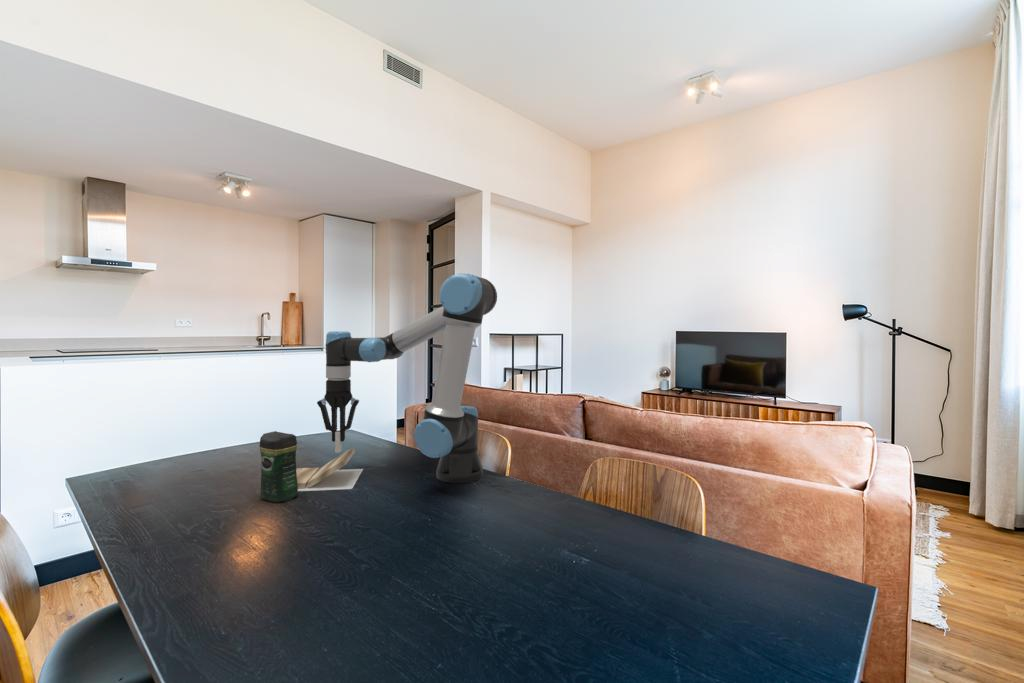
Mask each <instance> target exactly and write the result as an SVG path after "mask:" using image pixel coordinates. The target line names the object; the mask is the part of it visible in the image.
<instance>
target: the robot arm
mask: <svg viewBox="0 0 1024 683" xmlns="http://www.w3.org/2000/svg"><path fill="white" fill-rule="evenodd" d="M439 290H440V291H439V302H440V303H441V305H442V306H440V307H438V308H436V309H434V310H433V311H431V312H429V313H428V314H427V313H426V314H425V315H424V316H422V317H420V318H418V319H416V320H414V321H412V322H409V324H407V325H404V326H403V327H401V328H400V329H399V328H398V330H396V331H394V332H392V333H390V334H388V335H386V336H384V337H381V336H380V337H352V336H351V335H352V334H351V332H350V331H341V330H340V331H336V330H335V331H333V330H332V331H327V333H326V336H325V361H326V362H325V378H326V379H327V380H325V394H324V398H322V399H319V400H318V401H317V402H316V403H317V405H318V407H319V408H320V411H321V412H320V413H321V416H322V419H323V424H324V428H325V430H326V431H330V432H331V441H332V442H333V443H334V451H335V453H341V452H342V450H343V446H342V445H343V444H342V443H343V442H345V440H346V431H348V430H350V429H351V427H352V425H353V420H354V416H355V412H356V409H357V406H358V404H359V402H360V400H359V399H356V398H355V397H353V394H352V389H351V386H352V380H351V379H350V378H351V376H352V374H351V373H352V372H351V370H352V367H351V364H352V363H351V362H362V363H363V362H365V363H366V362H367V363H377V362H378V363H379V362H381V361H385V360H394V359H395V360H396V359H398V358H401V356H403V355H404V353H405V352H407V351H408V350H411V349H413V348H415V347H416V346H419V345H421V344H422V343H424V342H426V341H429V340H431V339H432V338H434V337H436V336H437V335H440V334H442V333H443V340H442V345H441V351H440V355H439V359H438V360H439V361H438V367H437V373H436V376H435V377H436V378H435V383H434V387H433V394H432V398H431V402H430V403H428V404H427V405H426V406H425V407H424V414H423V418H422V420H420V421H419V422H418V424H416V426H415V428H414V432H413V439H414V443H415V445H416V447H417V449H418V450H419V451H420V453H421V454H423V455H424V456H426V457H429V458H433V459H437V458H439V461H438V464H437V467H436V475H435V476H436V479H437V480H439V481H441V482H444V483H451V484H465V483H473V482H475V481H478V480H480V479H482V478H483V475H484V468H483V465H482V462H481V458H480V456H479V452H478V451H479V449H478V446H479V411H478V409H477V408H476V407H475V406H469V405H462V400H463V393H464V390H465V389H464V388H465V384H466V379H467V374H468V370H469V369H468V368H469V363H470V359H471V353H472V347H473V343H474V339H475V338H474V337H475V332H476V329H477V328H478V327H479V326H481V325H482V323H483V319H484V316H485V315H487V314H488V313H490V312H491V311H492V310H493V309H494V308H495V306H496V304H497V301H498V292H497V289H496V287H495V285H494V284H493V283H492V282H491V281H490V280H489V279H487V278H484V277H480V276H476V275H474V274H471V273H456V274H452V275H450V276H449V277H448V278H447V279H445V280H444V282H442V285H441V287H440V289H439ZM349 403H350V405H351V406H350V409H349V412H348V417H347V421H346V406H347V405H348V404H349ZM327 404H328V405H329V406H330V407H331V408H330V410H331V419H330V416H329V413H328V409H327V408H328V407H327ZM338 408H339V430H338Z"/></svg>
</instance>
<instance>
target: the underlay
mask: <svg viewBox="0 0 1024 683" xmlns="http://www.w3.org/2000/svg"><path fill="white" fill-rule="evenodd" d="M363 471H364V468H354V469H353V468H352V469H351V468H350V469H338V470H337V471H335V472H334V473H332V474H330V475H329V476H327V477H326V478H324V479H323V480H321V481H319V482H318V483H316V484H315V485H313V486H311V487H309V486H307V487H306V488H305V489H298V492H310V491H311V492H314V491H316V492H317V491H333V490H334V491H335V490H337V491H338V490H352V489H353V488H354V486H355V484H356V483H357V481H358V479H359V477H360V476H361V474H362V472H363Z"/></svg>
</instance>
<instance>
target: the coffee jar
mask: <svg viewBox="0 0 1024 683" xmlns="http://www.w3.org/2000/svg"><path fill="white" fill-rule="evenodd" d="M297 449H298V441H297V436H296V435H295V434H293V433H285V432H281V431H276V430H275V431H270V432H266V433H263V434H262V436H260V439H259V452H260V459H261V461H260V462H261V465H260V466H261V469H260V470H261V471H260V472H261V473H260V475H261V476H260V498H261V499H262V500H264V501H266V502H271V503H282V502H288V501H291V500H292V499H294V498H296V497H297V496H298V494H299V491H298V484H297V472H296V468H297V460H296V459H297V457H296V456H297V455H296V454H297Z"/></svg>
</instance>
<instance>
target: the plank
mask: <svg viewBox="0 0 1024 683" xmlns="http://www.w3.org/2000/svg"><path fill="white" fill-rule="evenodd" d="M354 453H356V451H355V449H354V447H351V448H350V449H347V450H346V451H344V452H343V453H341V454H340V455H337V457H335V458H333V459H332V460H330V461H328V462H327V463H325V464H324V465H322V466H321V467H319V470H318V471H317V472H316V473H315V474H314V476H313V477H312V478H311V479H310V480H309V481H308V482H307V484H308V486H309V487H311V486H313V485H315V484H316V483H318V482H319V481H321V480H323V479H324V478H326V477H327V476H329V475H330V474H332V473H334V472H335V471H337V470H341V469H342V468H343V467H345V466H346V464H348V462H349V461H350V460H351V458H352V456H354Z"/></svg>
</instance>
